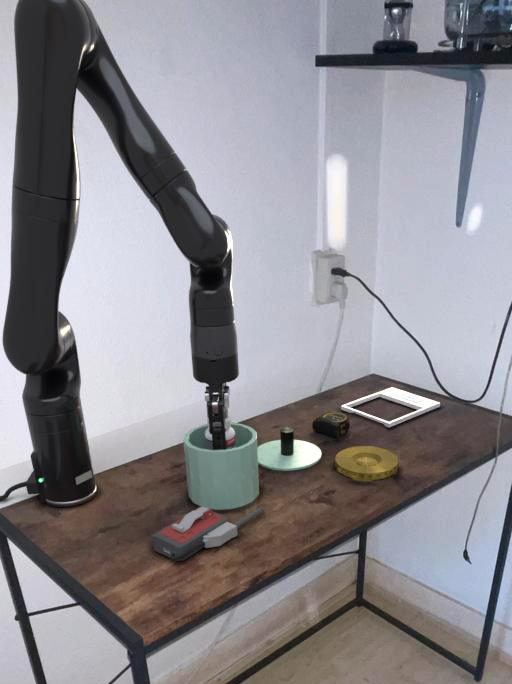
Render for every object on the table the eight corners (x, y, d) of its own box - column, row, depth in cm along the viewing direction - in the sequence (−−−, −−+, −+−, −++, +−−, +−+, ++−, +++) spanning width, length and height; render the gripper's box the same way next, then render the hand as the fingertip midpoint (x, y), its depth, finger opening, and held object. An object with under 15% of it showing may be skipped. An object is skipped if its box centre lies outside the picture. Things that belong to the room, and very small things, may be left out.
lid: (253, 474, 131) (251, 445, 128) (253, 445, 143) (252, 417, 140) (324, 472, 132) (324, 443, 128) (318, 443, 143) (318, 415, 140)
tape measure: (310, 433, 148) (310, 417, 146) (331, 424, 152) (331, 408, 150) (335, 442, 143) (335, 426, 142) (355, 432, 148) (356, 416, 146)
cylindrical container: (186, 513, 119) (180, 452, 113) (192, 479, 130) (187, 423, 124) (259, 510, 119) (256, 450, 113) (259, 477, 130) (256, 421, 124)
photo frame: (440, 401, 159) (389, 422, 149) (440, 406, 160) (388, 427, 150) (392, 386, 169) (341, 404, 158) (392, 390, 169) (340, 409, 159)
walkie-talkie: (185, 572, 103) (268, 517, 117) (182, 547, 101) (267, 494, 115) (145, 553, 108) (229, 502, 122) (141, 529, 106) (227, 480, 119)
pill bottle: (232, 472, 119) (229, 425, 114) (203, 469, 120) (199, 423, 115) (240, 458, 123) (237, 412, 118) (212, 456, 124) (208, 410, 119)
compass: (373, 451, 139) (373, 441, 138) (410, 474, 130) (411, 463, 129) (323, 464, 134) (323, 454, 133) (358, 489, 125) (359, 478, 124)
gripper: (194, 337, 117) (202, 428, 125) (187, 363, 105) (196, 463, 113) (238, 336, 117) (243, 427, 126) (236, 362, 105) (241, 462, 113)
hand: (220, 444), depth 119 cm, fingers open, 5 cm apart
